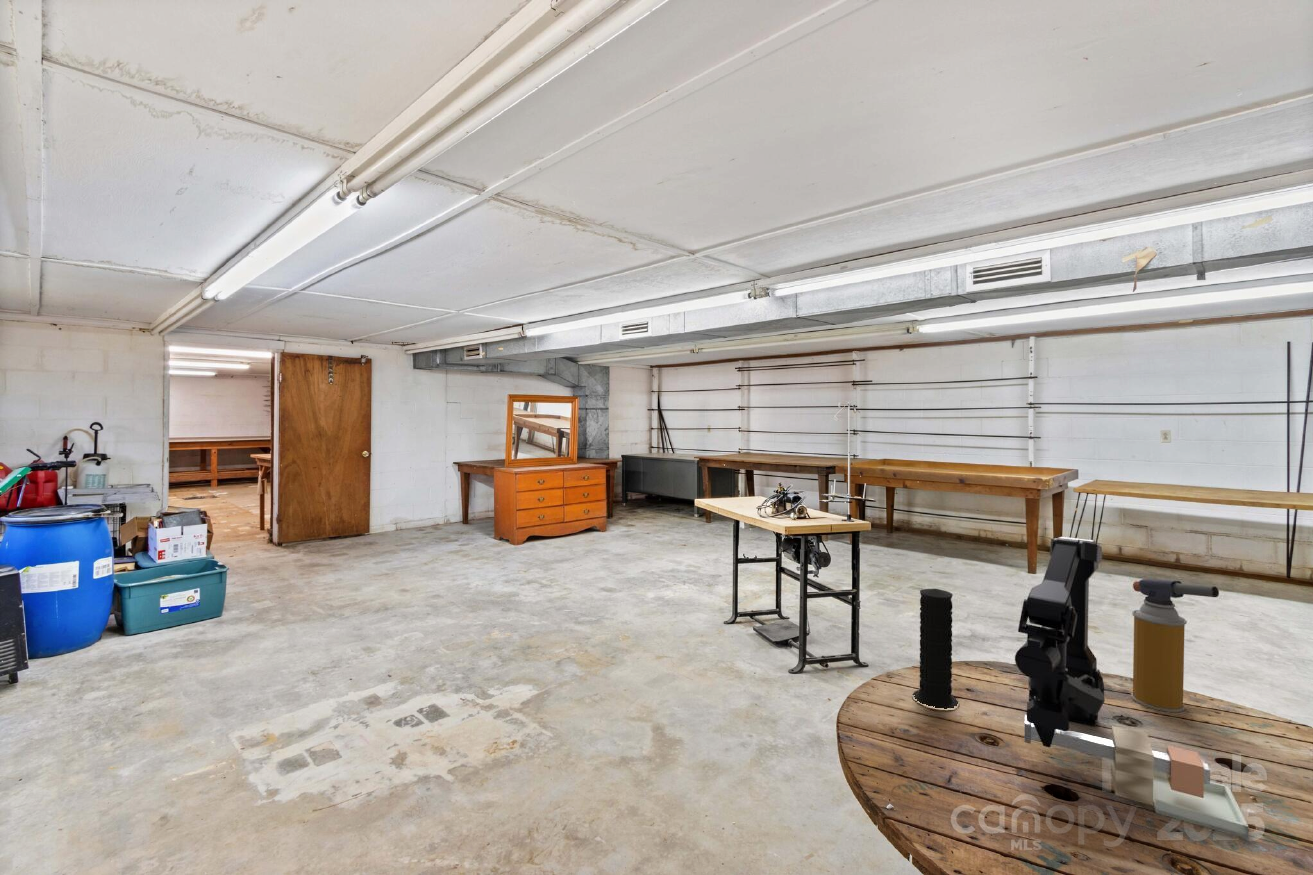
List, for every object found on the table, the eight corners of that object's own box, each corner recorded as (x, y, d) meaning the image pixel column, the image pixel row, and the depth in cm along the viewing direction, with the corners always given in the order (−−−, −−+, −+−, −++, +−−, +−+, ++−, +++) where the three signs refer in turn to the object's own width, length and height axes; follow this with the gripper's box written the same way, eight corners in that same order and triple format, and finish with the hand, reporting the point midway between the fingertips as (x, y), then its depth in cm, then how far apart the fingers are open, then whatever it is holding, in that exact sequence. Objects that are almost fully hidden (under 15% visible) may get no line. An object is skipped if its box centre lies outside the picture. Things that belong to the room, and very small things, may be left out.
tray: (1155, 812, 96) (1155, 800, 96) (1145, 775, 106) (1145, 764, 106) (1248, 839, 90) (1248, 826, 90) (1227, 796, 100) (1228, 785, 100)
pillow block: (1115, 795, 100) (1116, 746, 100) (1111, 771, 107) (1111, 725, 107) (1152, 805, 98) (1153, 755, 97) (1146, 780, 104) (1146, 733, 104)
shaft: (1024, 742, 110) (1024, 723, 109) (1025, 733, 113) (1025, 714, 113) (1210, 790, 95) (1211, 769, 95) (1205, 778, 98) (1206, 757, 98)
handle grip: (962, 697, 136) (917, 686, 142) (963, 586, 135) (917, 580, 141) (955, 715, 128) (907, 703, 133) (956, 597, 127) (908, 590, 133)
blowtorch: (1148, 689, 139) (1150, 566, 138) (1229, 723, 124) (1232, 585, 123) (1118, 694, 137) (1121, 569, 136) (1197, 729, 121) (1200, 588, 120)
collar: (1171, 789, 97) (1171, 759, 97) (1166, 773, 102) (1166, 745, 101) (1203, 798, 95) (1204, 767, 95) (1196, 781, 99) (1197, 752, 99)
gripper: (1105, 692, 96) (1104, 783, 97) (1097, 654, 112) (1096, 733, 112) (1026, 676, 103) (1026, 762, 103) (1029, 642, 118) (1028, 717, 119)
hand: (1046, 743), depth 109 cm, fingers closed on shaft, 2 cm apart
